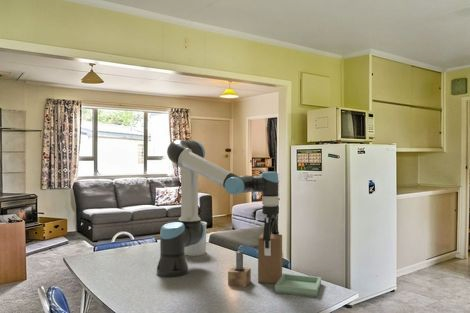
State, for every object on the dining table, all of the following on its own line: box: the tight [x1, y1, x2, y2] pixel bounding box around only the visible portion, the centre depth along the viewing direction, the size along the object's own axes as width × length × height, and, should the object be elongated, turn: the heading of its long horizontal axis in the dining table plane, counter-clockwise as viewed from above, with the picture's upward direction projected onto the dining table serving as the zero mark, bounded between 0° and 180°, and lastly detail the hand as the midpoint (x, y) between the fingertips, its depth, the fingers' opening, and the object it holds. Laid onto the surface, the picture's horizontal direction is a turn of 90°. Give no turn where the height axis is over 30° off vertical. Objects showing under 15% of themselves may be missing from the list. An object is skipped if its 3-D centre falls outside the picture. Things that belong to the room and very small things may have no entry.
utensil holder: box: [184, 220, 208, 257], centre depth 223 cm, size 15×15×18 cm
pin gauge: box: [235, 250, 244, 271], centre depth 169 cm, size 3×3×14 cm
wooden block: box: [257, 233, 283, 285], centre depth 174 cm, size 10×10×20 cm
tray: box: [274, 273, 322, 298], centre depth 163 cm, size 17×17×3 cm
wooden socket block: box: [227, 266, 252, 288], centre depth 169 cm, size 8×8×6 cm
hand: (271, 251), depth 174 cm, fingers open, 13 cm apart
